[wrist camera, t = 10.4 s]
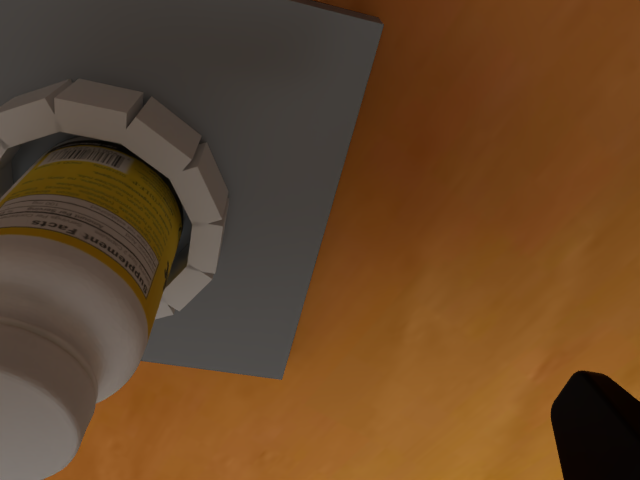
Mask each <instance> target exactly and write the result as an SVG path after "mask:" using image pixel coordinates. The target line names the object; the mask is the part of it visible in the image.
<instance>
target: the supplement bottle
mask: <svg viewBox="0 0 640 480" xmlns="http://www.w3.org/2000/svg"><path fill="white" fill-rule="evenodd" d="M184 219H185V211H184V207H183V205H182V203H181V201H180V199H179V197H178V195H177V193H176V191H175V189H174V187H173V185H172V183H171V181H170V179H169V178H167V177H166V176H165V175H163V174H162V173H160V172H159V171H158V170H156V169H155V168H154V167H152V166H151V165H149V164H148V163H147V162H145V161H144V160H143V159H141V158H140V157H138V156H137V155H136V154H134V153H133V152H132V151H130V150H129V149H127V148H126V147H125V146H123V145H122V144H120V143H115V142H110V141H105V140H100V139H95V138H90V137H85V136H84V137H77V138H73V139H70V140H66V141H64V142H62V143H59V144H58V145H56V146H54V147H52V148H51V149H50V150H48V151H47V152H46V153H44V154H43V155H42V156H41V157H40V158H39V159H38V160H37V161H36V162H35V163H34V164H33V165H32V166H31V167H30V168H29V169H28V170H27V171H26V172H25V173H24V174H23V175H22V177H21V178H20V179H19V180H18V181H17V182H16V183H15V184H14V185H13V186H12V187H11V188H10V189H9V190H8V191H7V192H6V193H5V194H4V195H3V196H2V197H1V198H0V480H42V479H45V478H47V477H49V476H52V475H54V474H55V473H57V472H59V471H60V470H62V469H63V468H64V467H66V466H67V465H68V464H69V463H70V462H71V461H72V459H73V458H74V456H75V454H76V453H77V451H78V449H79V447H80V444H81V441H82V439H83V436H84V434H85V431H86V429H87V426H88V424H89V422H90V420H91V418H92V416H93V413H94V409H95V404H96V403H98V402H100V401H102V400H104V399H106V398H108V397H109V396H111V395H112V394H114V393H115V392H117V391H118V390H119V389H120V388H121V387H122V386H123V385H124V384H125V383H126V382H127V381H128V380H129V379H130V378H131V377H132V375H133V374H134V372H135V371H136V369H137V367H138V365H139V363H140V361H141V358H142V356H143V353H144V351H145V348H146V345H147V342H148V339H149V336H150V333H151V330H152V327H153V323H154V320H155V317H156V314H157V311H158V308H159V304H160V301H161V298H162V294H163V292H164V289H165V286H166V282H167V279H168V276H169V273H170V269H171V266H172V263H173V260H174V257H175V254H176V250H177V248H178V244H179V241H180V238H181V234H182V230H183V226H184Z"/></svg>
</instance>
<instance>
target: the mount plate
mask: <svg viewBox="0 0 640 480" xmlns="http://www.w3.org/2000/svg"><path fill="white" fill-rule="evenodd" d="M383 26H384V24H383V23H382V21H381V20H380V19H379V18H378V17H374V16H370V15H366V14H363V13H359V12H355V11H351V10H347V9H343V8H339V7H335V6H331V5H328V4H324V3H320V2H316V1H312V0H0V198H1V197H2V196H3V195H4V194H5V193H6V192H7V191H8V190H9V189H10V188H11V187H12V186H13V185H14V184H15V183H16V182H17V181H18V180H19V179H20V178H21V177H22V175H23V174H24V173H25V172H26V171H27V170H28V169H29V168H30V167H31V166H32V165H33V164H34V163H35V162H36V161H37V160H38V159H39V158H40V157H41V156H42V155H43V154H44V153H46V152H47V151H48V150H50V149H51V148H52V147H54V146H56V145H58V144H59V143H62V142H64V141H66V140H70V139H73V138H77V137H84V136H85V137H90V138H95V139H100V140H105V141H110V142H115V143H120V144H122V145H123V146H125V147H126V148H127V149H129V150H130V151H132V152H133V153H134V154H136V155H137V156H138V157H140V158H141V159H143V160H144V161H145V162H147V163H148V164H149V165H151V166H152V167H154V168H155V169H156V170H158V171H159V172H160V173H162V174H163V175H165V176H166V177H167V178H169V179H170V181H171V183H172V185H173V187H174V189H175V191H176V193H177V195H178V197H179V199H180V201H181V203H182V205H183V207H184V211H185V219H184V226H183V230H182V234H181V238H180V241H179V244H178V248H177V250H176V254H175V257H174V260H173V263H172V266H171V269H170V273H169V276H168V279H167V282H166V286H165V289H164V292H163V294H162V298H161V301H160V304H159V308H158V311H157V314H156V317H155V320H154V323H153V327H152V330H151V333H150V336H149V339H148V342H147V345H146V348H145V351H144V353H143V356H142V358H141V361H147V362H154V363H161V364H169V365H176V366H184V367H191V368H199V369H206V370H214V371H221V372H229V373H236V374H243V375H251V376H258V377H266V378H273V379H281V380H282V377H283V374H284V370H285V367H286V363H287V360H288V356H289V353H290V350H291V346H292V343H293V339H294V336H295V332H296V329H297V325H298V322H299V318H300V315H301V311H302V308H303V304H304V301H305V297H306V294H307V290H308V287H309V283H310V280H311V276H312V273H313V269H314V266H315V263H316V259H317V256H318V252H319V249H320V245H321V242H322V238H323V235H324V231H325V228H326V224H327V221H328V217H329V214H330V210H331V207H332V203H333V200H334V196H335V193H336V189H337V186H338V182H339V179H340V176H341V172H342V169H343V165H344V162H345V158H346V155H347V151H348V148H349V144H350V141H351V137H352V134H353V130H354V127H355V123H356V120H357V116H358V113H359V109H360V106H361V102H362V99H363V95H364V92H365V89H366V85H367V82H368V78H369V75H370V71H371V68H372V64H373V61H374V57H375V54H376V50H377V47H378V43H379V40H380V36H381V33H382V29H383Z"/></svg>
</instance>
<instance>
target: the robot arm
mask: <svg viewBox="0 0 640 480" xmlns="http://www.w3.org/2000/svg"><path fill="white" fill-rule="evenodd" d="M551 422H552V426H553V431H554V436H555V440H556V445H557V450H558V455H559V459H560V464H561V469H562V473H563V478H564V480H640V402H639V401H638V400H637V399H636V398H634V397H633V396H632V395H631V394H629V393H628V392H627V391H626V390H624V389H623V388H622V387H621V386H619V385H618V384H617V383H616V382H614V381H613V380H612V379H611V378H609V377H608V376H606V375H604V374H601V373H596V372H589V371H578V372H576V373H574V374H573V375H572V376H571V378H570V379H569V381H568V382H567V384H566V385H565V386H564V388H563V389H562V391H561V392H560V394H559V395H558V397H557V398H556V399H555V401H554V403H553V405H552V408H551Z"/></svg>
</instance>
